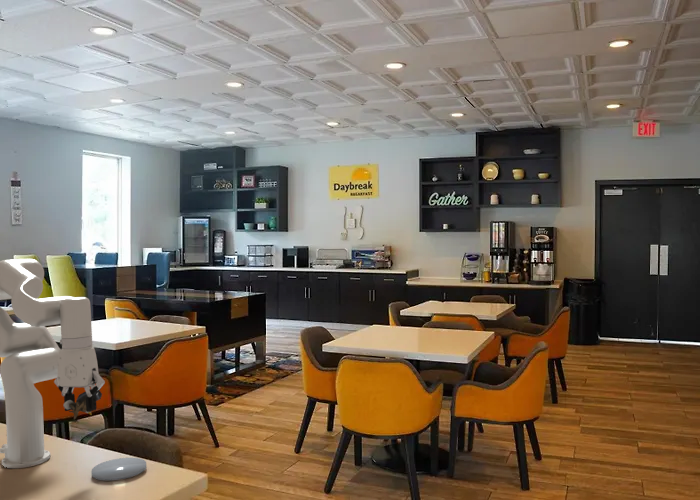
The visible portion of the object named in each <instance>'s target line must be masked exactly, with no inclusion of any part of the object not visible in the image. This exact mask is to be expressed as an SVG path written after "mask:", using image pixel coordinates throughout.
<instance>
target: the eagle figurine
mask: <svg viewBox="0 0 700 500" xmlns="http://www.w3.org/2000/svg"><path fill="white" fill-rule="evenodd" d="M90 389H91V388H90ZM91 390H92V389H91ZM86 397H88V396H87V393H86V391H83V392H82V393H80V394H78V396H77V398H76V399H75V402H73V401H72V400H68V401H66V402H65V403H64V402H63V408H64V410H65V409H67V410H68V409H71V408H72V410H69V411H68V412H69V413H72V414H73V420H75V419H77V417H79V412H81V413H86V414H89V415H90V416H92V411H91V412H87V411H86ZM102 397H103V393H102V391H101V390H99V392H98V394H97V395H96V402H98V401H100V400H101V398H102Z"/></svg>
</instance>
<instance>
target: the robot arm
mask: <svg viewBox="0 0 700 500" xmlns="http://www.w3.org/2000/svg"><path fill="white" fill-rule="evenodd" d="M44 277H45V269H44V267H43V265H42V263H40V262H39V260H36V259H33V258H17V259H13V258H12V259H11V258H10V259H3V260H0V301H3V300H10V301H11V306H12V307H11V308H12V310H13V314H15V316H16V317H17V318H18V319H19V320H20V321H22V322H20V323H19V322H15V321H14V320H13V319H12V318H11V316H10V315H9V313H8V312H7V311H6V310H5V309H4V308H2V307H1V306H0V358H4V359H3V360H2V361H1V363H0V378H1V382H2V386H3V390H4V401H5V402H4V403H5V420H6V421H5V422H6V423H5V424H6V443H4V444H2V445H1V447H0V454H4V458H2V459H1V466H2V465H3V466H4V468H6V467H7V468H6V469H22V468H29V467H32V466H36V465H40V464H43V463H45V462H47V461H48V460H50V458H51V452H50V451H49V450H47V449H45V434H44V433H45V432H44V426H45V425H44V405H43V396H42V394H41V393H40V391H39V390H38V389H37V388H36V386H35V384H36V383H40V382H44V381H49V380H53V379H55V380H54V381H53V383H54V384H55V385H56V387H57V389H58V390H59V391H60V392H61V396H62V397H63V400H64V402H63V404H64V403H65V402H66V401H68V400H72V401H73V402H75V403H76V397H75V396H76V395H75V393H74V389H75V388H84V392H86V393H87V396H88V397H86V411H87V412H91V413H92V411H96V410H97V408H98V407H97V401H96V395H97V394H98V392H99V391H101V389H102V387H103V386H104V385H105V383H106V380H104V379H103V377H102V376H101V375H100V374H99V366H98V359H97V354H96V350H95V346H93V345H94V344H93V331H92V330H93V329H92V328H93V327H92V312H91V310H92V309H91V301H90V299H89V298H88V297H86V296H76V297H75V296H70V295H62V296H51V297H43V298H39V297H40V296H41V294H42V292H43V289H44V284H43V281H44ZM54 325H60V334H61V335H60V336H61V338H60V340H59V344H60V345H61V348H60V347H59V345H58V343H57V342H56V341H55V339H54V338H53V336H52V335H51V332H50V331H49V330H48V329H47V326H54ZM91 389H92V390H91ZM64 411H65V412H69V411H72V408H71V409H68V410H67V409H65V408H64ZM3 466H2V467H3Z"/></svg>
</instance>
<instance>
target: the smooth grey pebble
mask: <svg viewBox="0 0 700 500" xmlns="http://www.w3.org/2000/svg"><path fill="white" fill-rule="evenodd" d="M146 469H147V461H146V460H145V459H143V458H139V457H121V458H114V459H110V460H106V461H103V462H101V463H98V464H97V465H95V466H94V467H92V468H91V471H90V472H91V477H92V478H93V479H95V480H98V481H118V480H125V479H128V478H132V477H134V476H137V475H140V474H142V473H143V472H145V471H146Z"/></svg>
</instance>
